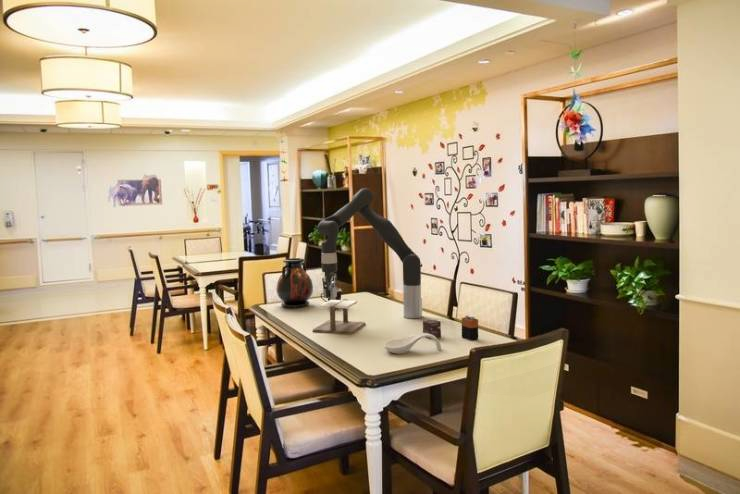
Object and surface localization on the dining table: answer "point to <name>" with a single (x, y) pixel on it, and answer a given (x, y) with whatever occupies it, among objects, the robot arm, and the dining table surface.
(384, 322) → the dining table surface
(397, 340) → the spoon rest
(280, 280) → the amphora vase
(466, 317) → the battery
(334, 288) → the gray cube
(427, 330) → the box
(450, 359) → the dining table surface
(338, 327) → the stand
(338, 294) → the coffee mug
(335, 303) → the trapdoor
